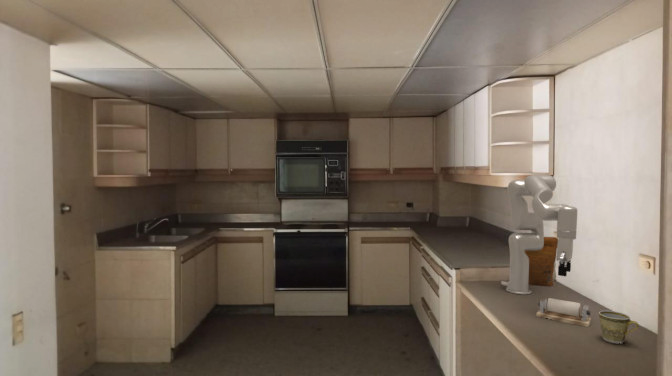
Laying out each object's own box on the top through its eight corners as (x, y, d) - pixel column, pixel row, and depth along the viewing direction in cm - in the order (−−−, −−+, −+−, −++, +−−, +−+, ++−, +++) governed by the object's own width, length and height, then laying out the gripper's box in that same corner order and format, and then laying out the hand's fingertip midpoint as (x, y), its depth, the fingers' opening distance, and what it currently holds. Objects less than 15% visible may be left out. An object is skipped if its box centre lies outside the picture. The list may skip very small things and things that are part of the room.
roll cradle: (536, 316, 190) (536, 301, 189) (540, 311, 197) (541, 296, 196) (588, 327, 177) (588, 310, 177) (591, 321, 185) (591, 305, 184)
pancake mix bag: (557, 287, 238) (559, 238, 237) (520, 284, 244) (522, 235, 243) (555, 284, 244) (557, 236, 243) (519, 281, 250) (520, 234, 249)
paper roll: (546, 313, 188) (547, 299, 188) (549, 309, 193) (550, 296, 193) (578, 319, 181) (578, 305, 181) (580, 315, 186) (580, 301, 186)
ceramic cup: (593, 339, 165) (594, 313, 164) (604, 333, 171) (605, 308, 170) (632, 350, 154) (633, 323, 154) (642, 344, 160) (643, 318, 160)
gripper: (560, 231, 195) (558, 268, 196) (552, 236, 181) (550, 276, 182) (579, 233, 190) (577, 271, 191) (572, 238, 177) (570, 279, 178)
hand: (564, 273), depth 187 cm, fingers open, 9 cm apart
